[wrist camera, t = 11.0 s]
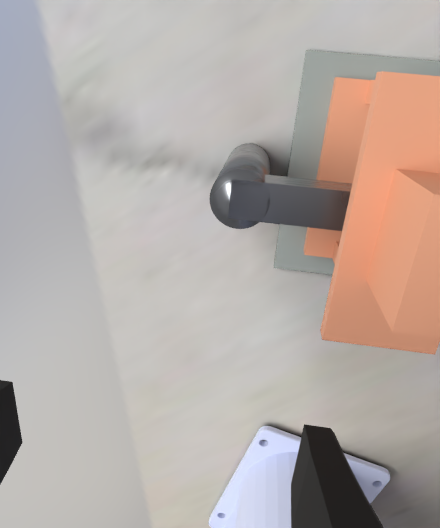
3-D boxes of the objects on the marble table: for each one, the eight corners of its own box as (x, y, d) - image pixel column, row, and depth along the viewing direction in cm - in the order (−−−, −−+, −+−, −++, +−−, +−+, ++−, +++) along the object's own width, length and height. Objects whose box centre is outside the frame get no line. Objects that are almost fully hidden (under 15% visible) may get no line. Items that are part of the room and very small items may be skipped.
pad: (457, 63, 15) (461, 62, 15) (394, 279, 19) (396, 282, 18) (305, 50, 15) (306, 49, 15) (273, 265, 19) (273, 267, 19)
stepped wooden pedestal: (420, 84, 15) (629, 83, 6) (375, 258, 18) (475, 420, 9) (334, 77, 15) (421, 65, 7) (303, 249, 18) (335, 400, 10)
